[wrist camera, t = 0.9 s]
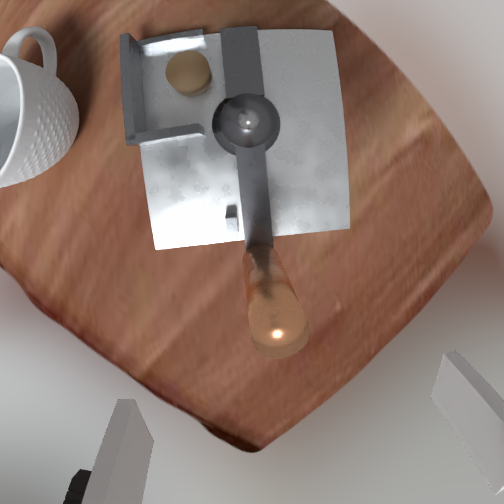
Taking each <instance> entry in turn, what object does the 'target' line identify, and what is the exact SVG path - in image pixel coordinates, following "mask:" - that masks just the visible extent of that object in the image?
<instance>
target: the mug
mask: <svg viewBox="0 0 504 504" xmlns="http://www.w3.org/2000/svg"><path fill="white" fill-rule="evenodd" d="M28 36H31V37H33V38H35V39H36V40H37V41H38V43H39V45H40V47H41V50H42V54H43V64H44V68H42V67H40V66H38V65H35V64H34V63H30V62H27V61H25V60H21V59H18V57H19V53H20V48H21V45H22V42H23V41H24V39H25V38H26V37H28ZM56 71H57V52H56V47H55V43H54V40H53V38H52V36H51V35H50V34H49V33H48V32H47V31H46V30H44V29H43V28H40V27H28V28H24V29H22V30H19V31H18V32H16V33H15V34H14V35H13V36H12V37H11V38H10V39H9V40H8V42H7V43H6V45H5V47H4V49H3V51H2V53H1V54H0V188H2V187H6V186H10V185H12V184H17V183H19V182H22V181H26V180H27V179H30V178H34V177H35V176H36V175H38V174H42V173H43V172H44V171H46V170H48V169H49V168H50V167H52V166H53V165H54V164H55V163H56V162H58V161H59V160H60V159H61V158H62V157H63V156H64V155H65V154H66V152H68V151H69V149H70V147H71V145H72V144H73V142H74V140H75V137H76V135H77V131H78V127H79V111H78V106H77V103H76V101H75V98H74V97H73V95H72V92H71V91H69V88H68V87H66V86H65V84H64V83H63V82H62V81H60V79H59V78H57V77H56Z"/></svg>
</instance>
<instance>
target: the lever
mask: <svg viewBox="0 0 504 504" xmlns="http://www.w3.org/2000/svg"><path fill="white" fill-rule="evenodd" d="M220 37H221V48H222V58H223V69H224V79H225V89H226V99H227V103H226V104H225V105H224V107H223V109H222V111H221V114H220V127H221V130H222V132H223V134H224V136H225V138H226V139H227V140H228V141H229V142H230V143H231V144H233V145H235V153H236V162H237V172H238V181H239V191H240V200H241V210H242V219H243V229H244V238H245V247H246V252H245V254H244V256H243V269H244V279H245V288H246V297H247V306H248V315H249V324H250V333H251V341H252V344H253V346H254V348H255V349H256V350H257V351H258V352H259V353H261V354H262V355H264V356H266V357H270V358H286V357H289V356H292V355H294V354H296V353H297V352H299V351H300V350H301V349H302V348H303V347H304V346H305V344H306V343H307V341H308V338H309V335H310V327H309V324H308V322H307V319H306V317H305V315H304V312H303V310H302V308H301V305H300V303H299V301H298V299H297V296H296V294H295V292H294V289H293V287H292V285H291V283H290V280H289V278H288V276H287V274H286V271H285V269H284V267H283V265H282V262H281V260H280V258H279V256H278V253H277V251H276V250H275V249H274V247H273V235H272V223H271V211H270V199H269V188H268V177H267V166H266V155H265V145H264V143H265V142H266V141H267V140H269V139H270V137H271V136H272V135H273V133H274V131H275V128H276V123H277V118H276V113H275V110H274V108H273V106H272V105H271V104H270V103H269V102H268V101H267V100H266V99H265V98H263V97H264V95H265V92H264V82H263V73H262V65H261V56H260V47H259V39H258V31H257V26H246V27H232V28H222V29H220Z"/></svg>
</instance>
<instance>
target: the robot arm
mask: <svg viewBox="0 0 504 504" xmlns="http://www.w3.org/2000/svg"><path fill="white" fill-rule="evenodd" d="M431 400H432V401H433V402H434V404H435V405H436V407H437V408H438V409H439V411H440V412H441V414H442V415H443V417H444V418H445V419H446V421H447V422H448V423H449V425H450V426H451V428H452V430H453V431H454V432H455V434H456V435H457V437H458V438H459V440H460V441H461V443H462V444H463V446H464V447H465V449H466V450H467V452H468V453H469V455H470V456H471V458H472V459H473V461H474V462H475V464H476V466H477V467H478V469H479V470H480V472H481V473H482V475H483V476H484V478H485V480H486V481H487V483H488V484H489V486H490V488H491V489H492V490H493V492H494V494H495V495H496V494H498V493H499V492H501V491H502V490H504V400H503V399H502V398H501V397H500V395H499V394H498V393H497V392H496V391H495V390H494V389H493V388H492V387H491V386H490V384H489V383H488V382H486V380H485V379H484V378H483V377H482V376H481V375H480V374H479V373H478V372H477V371H476V370H475V369H474V367H472V366H471V364H470V363H469V362H468V361H467V360H466V359H465V358H464V357H463V356H462V355H461V354H460V353H459V352H458V351H457V350H453V351H450V352H447V353H444V354H443V358H442V361H441V365H440V368H439V372H438V375H437V379H436V382H435V385H434V389H433V392H432V395H431ZM153 443H154V440H153V438H152V436H151V434H150V432H149V430H148V428H147V426H146V423H145V421H144V419H143V417H142V415H141V413H140V410H139V408H138V406H137V403H136V401H135V400H132V399H131V400H129V399H118V401H117V403H116V406H115V408H114V411H113V414H112V416H111V419H110V422H109V424H108V427H107V430H106V433H105V435H104V438H103V441H102V444H101V446H100V449H99V452H98V455H97V458H96V461H95V464H94V466H93V469H92V471H88V470H82V469H80V470H79V471H78V472H77V474H76V475H75V476H74V477H73V478H72V480H71V483H70V485H69V488H68V490H69V491H67V494H66V497H65V500H64V502H63V504H142V499H143V493H144V488H145V483H146V478H147V472H148V467H149V462H150V457H151V453H152V448H153Z"/></svg>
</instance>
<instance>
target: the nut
mask: <svg viewBox="0 0 504 504" xmlns="http://www.w3.org/2000/svg"><path fill="white" fill-rule="evenodd" d="M165 74H166V78H167V80H168V82H169V83H170V85H171V86H172V87H173V88H174V89H175V90H176V91H177V92H178V93H179V94H181V95H183V96H187V97H194V96H198V95H200V94H202V93H204V92H205V91H206V90H207V89H208V88H209V86H210V84H211V81H212V74H211V70H210V66H209V63H208V61H207V59H206V57H205V56H204V55H202V54H201V53H199V52H196V51H191V50H188V51H182V52H180V53H178V54H176V55H175V56H173V57H172V58H171V59H170V61H169V62H168V64H167V66H166V71H165Z"/></svg>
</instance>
